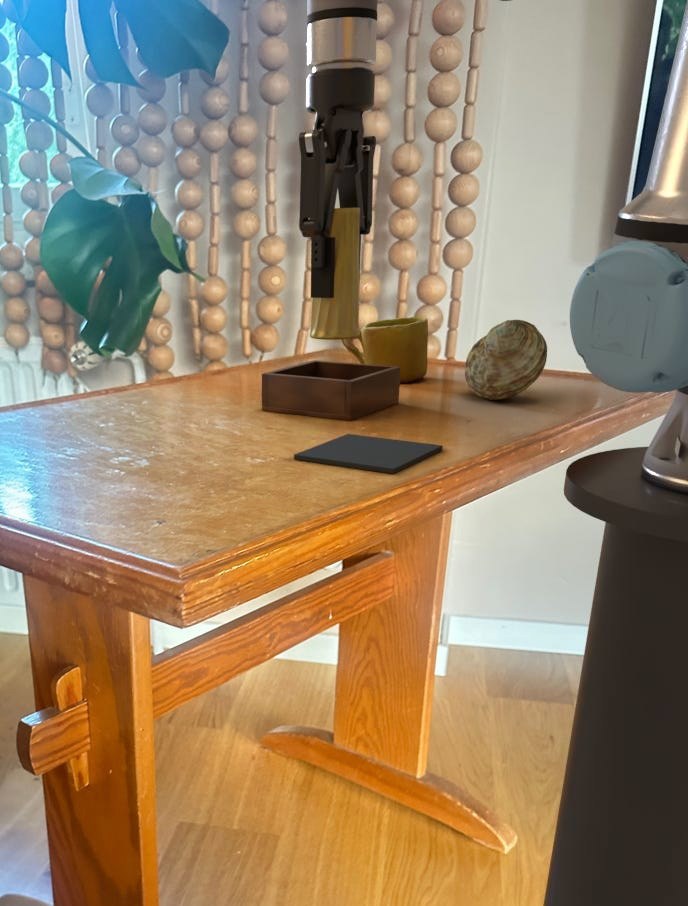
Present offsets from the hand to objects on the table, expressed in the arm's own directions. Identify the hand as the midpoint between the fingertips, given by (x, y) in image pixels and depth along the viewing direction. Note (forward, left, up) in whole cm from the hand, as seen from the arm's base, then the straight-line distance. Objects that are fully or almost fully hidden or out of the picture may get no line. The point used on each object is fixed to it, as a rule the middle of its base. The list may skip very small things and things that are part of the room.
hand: (335, 295), depth 110 cm
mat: (-16, +20, -13) cm, 29 cm away
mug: (+4, -22, -14) cm, 26 cm away
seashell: (-16, -16, -14) cm, 26 cm away
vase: (0, 0, -5) cm, 5 cm away
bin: (0, 0, -13) cm, 13 cm away
